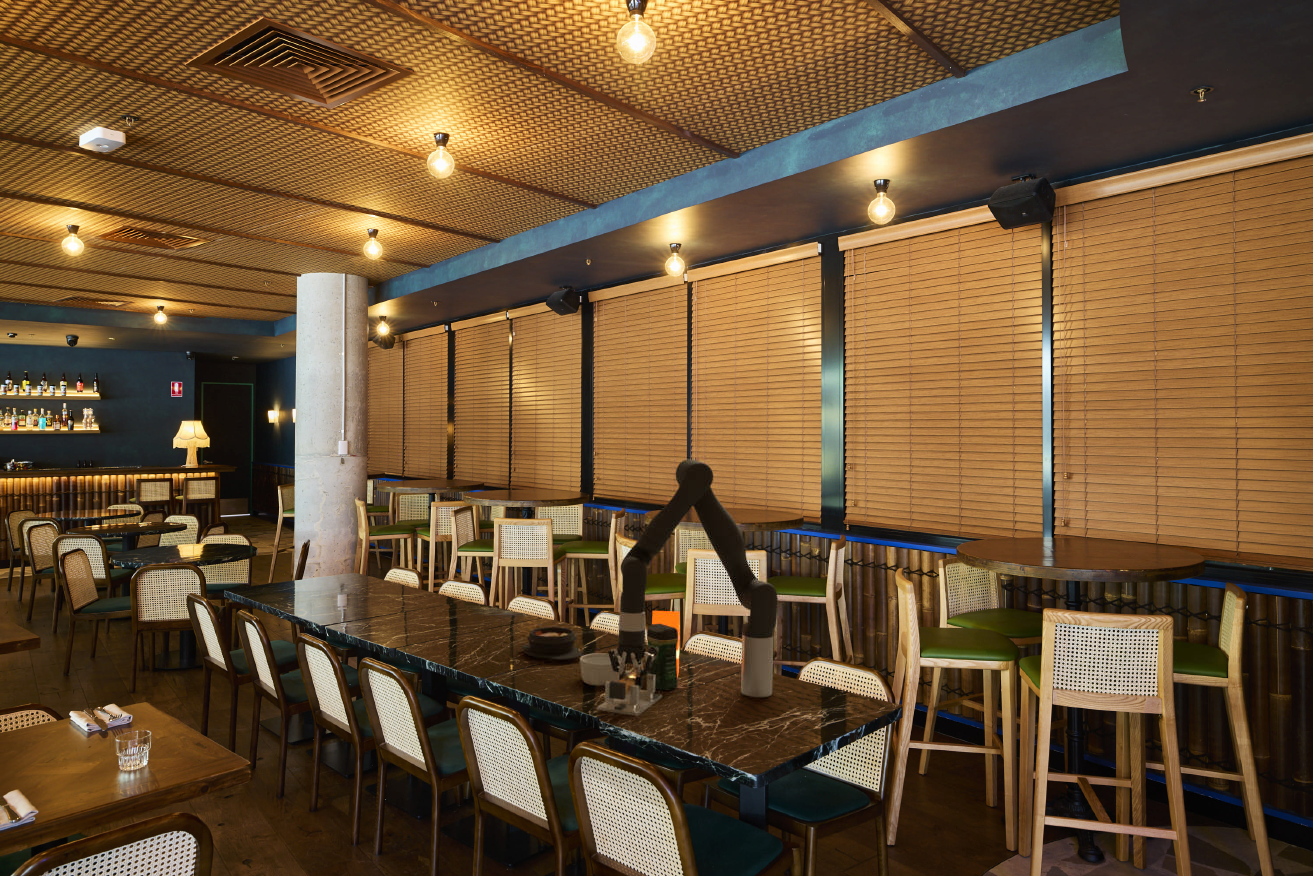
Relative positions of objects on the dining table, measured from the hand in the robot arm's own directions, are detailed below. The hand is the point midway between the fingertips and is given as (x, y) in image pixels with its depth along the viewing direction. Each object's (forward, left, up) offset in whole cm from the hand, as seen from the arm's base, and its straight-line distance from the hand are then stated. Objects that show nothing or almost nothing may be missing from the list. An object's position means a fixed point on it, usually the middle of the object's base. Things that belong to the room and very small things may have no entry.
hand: (630, 687), depth 223 cm
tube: (0, 0, 0) cm, 0 cm away
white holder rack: (0, 0, -4) cm, 4 cm away
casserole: (-35, -45, -5) cm, 57 cm away
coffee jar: (-19, +2, -5) cm, 20 cm away
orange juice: (-32, -2, -5) cm, 32 cm away
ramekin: (-16, -17, -5) cm, 24 cm away
